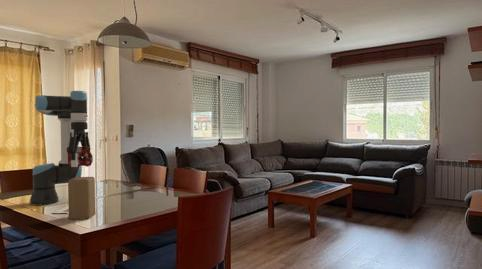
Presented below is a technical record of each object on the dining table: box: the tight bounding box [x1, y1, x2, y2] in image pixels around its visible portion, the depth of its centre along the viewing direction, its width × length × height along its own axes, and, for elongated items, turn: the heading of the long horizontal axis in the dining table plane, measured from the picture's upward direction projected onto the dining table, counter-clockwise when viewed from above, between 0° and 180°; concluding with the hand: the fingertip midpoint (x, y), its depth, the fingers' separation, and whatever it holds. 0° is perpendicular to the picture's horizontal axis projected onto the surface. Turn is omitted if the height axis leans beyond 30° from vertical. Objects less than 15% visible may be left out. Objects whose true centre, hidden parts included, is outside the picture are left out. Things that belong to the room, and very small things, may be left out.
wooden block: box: [67, 176, 96, 220], centre depth 171 cm, size 10×10×20 cm
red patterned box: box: [67, 146, 94, 167], centre depth 170 cm, size 7×12×10 cm, turn 138°
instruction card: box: [53, 205, 69, 213], centre depth 187 cm, size 13×18×1 cm
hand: (80, 165), depth 170 cm, fingers closed on red patterned box, 11 cm apart
